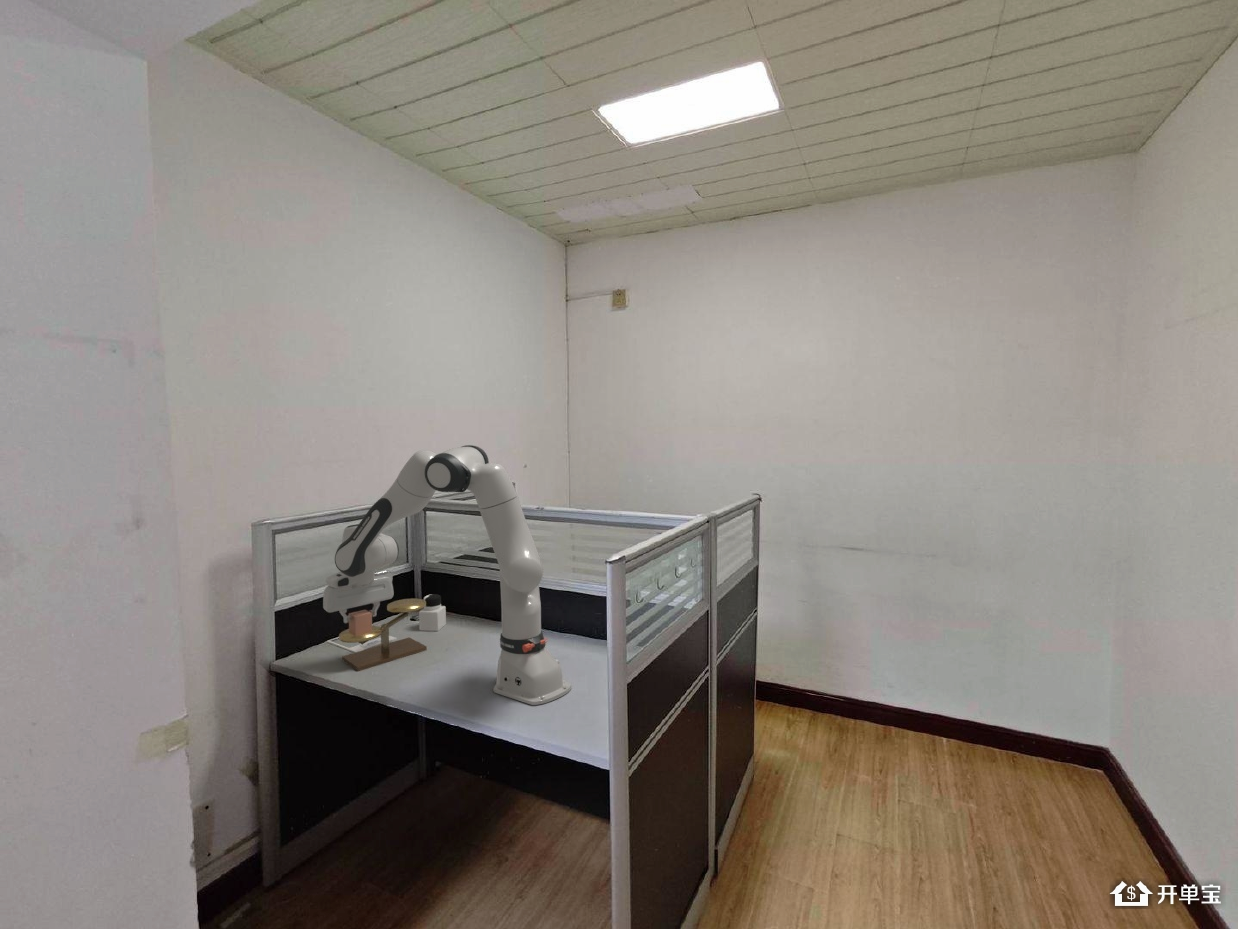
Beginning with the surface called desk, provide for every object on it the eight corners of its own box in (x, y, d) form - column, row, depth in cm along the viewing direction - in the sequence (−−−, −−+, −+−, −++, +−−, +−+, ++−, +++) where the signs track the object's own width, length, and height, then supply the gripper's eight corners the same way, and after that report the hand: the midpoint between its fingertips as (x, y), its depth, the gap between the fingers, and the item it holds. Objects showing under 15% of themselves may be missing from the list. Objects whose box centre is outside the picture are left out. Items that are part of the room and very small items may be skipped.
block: (372, 632, 169) (371, 613, 169) (355, 636, 166) (355, 617, 165) (365, 628, 173) (365, 609, 172) (349, 632, 169) (348, 613, 169)
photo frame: (356, 651, 176) (326, 640, 186) (356, 655, 176) (326, 643, 186) (396, 637, 189) (366, 627, 198) (396, 640, 189) (366, 630, 198)
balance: (433, 647, 181) (432, 603, 180) (349, 674, 161) (347, 624, 160) (416, 638, 189) (415, 596, 188) (333, 662, 169) (332, 615, 169)
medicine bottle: (446, 624, 203) (445, 593, 203) (438, 631, 196) (437, 598, 196) (427, 624, 204) (427, 592, 203) (419, 630, 197) (418, 598, 196)
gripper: (387, 567, 178) (388, 609, 179) (320, 579, 163) (321, 625, 164) (396, 570, 174) (397, 613, 174) (328, 583, 159) (329, 630, 159)
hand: (360, 619), depth 169 cm, fingers open, 6 cm apart
